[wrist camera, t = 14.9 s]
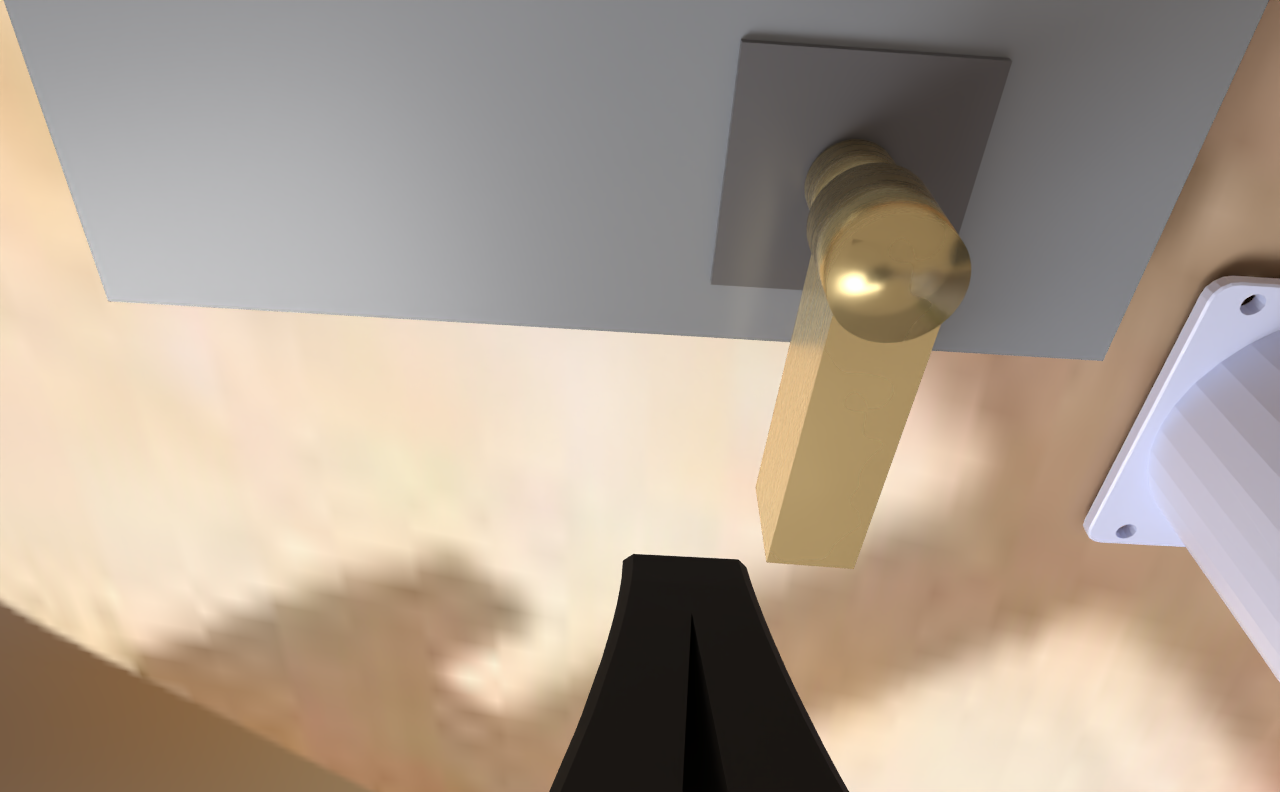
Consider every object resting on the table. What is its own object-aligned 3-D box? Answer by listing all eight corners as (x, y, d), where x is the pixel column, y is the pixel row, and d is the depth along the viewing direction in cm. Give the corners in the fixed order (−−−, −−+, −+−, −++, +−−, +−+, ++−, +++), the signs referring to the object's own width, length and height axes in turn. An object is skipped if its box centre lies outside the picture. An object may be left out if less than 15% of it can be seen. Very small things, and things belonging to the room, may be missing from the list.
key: (806, 121, 14) (845, 210, 11) (922, 133, 14) (991, 224, 11) (739, 436, 18) (755, 561, 15) (831, 444, 18) (864, 569, 15)
